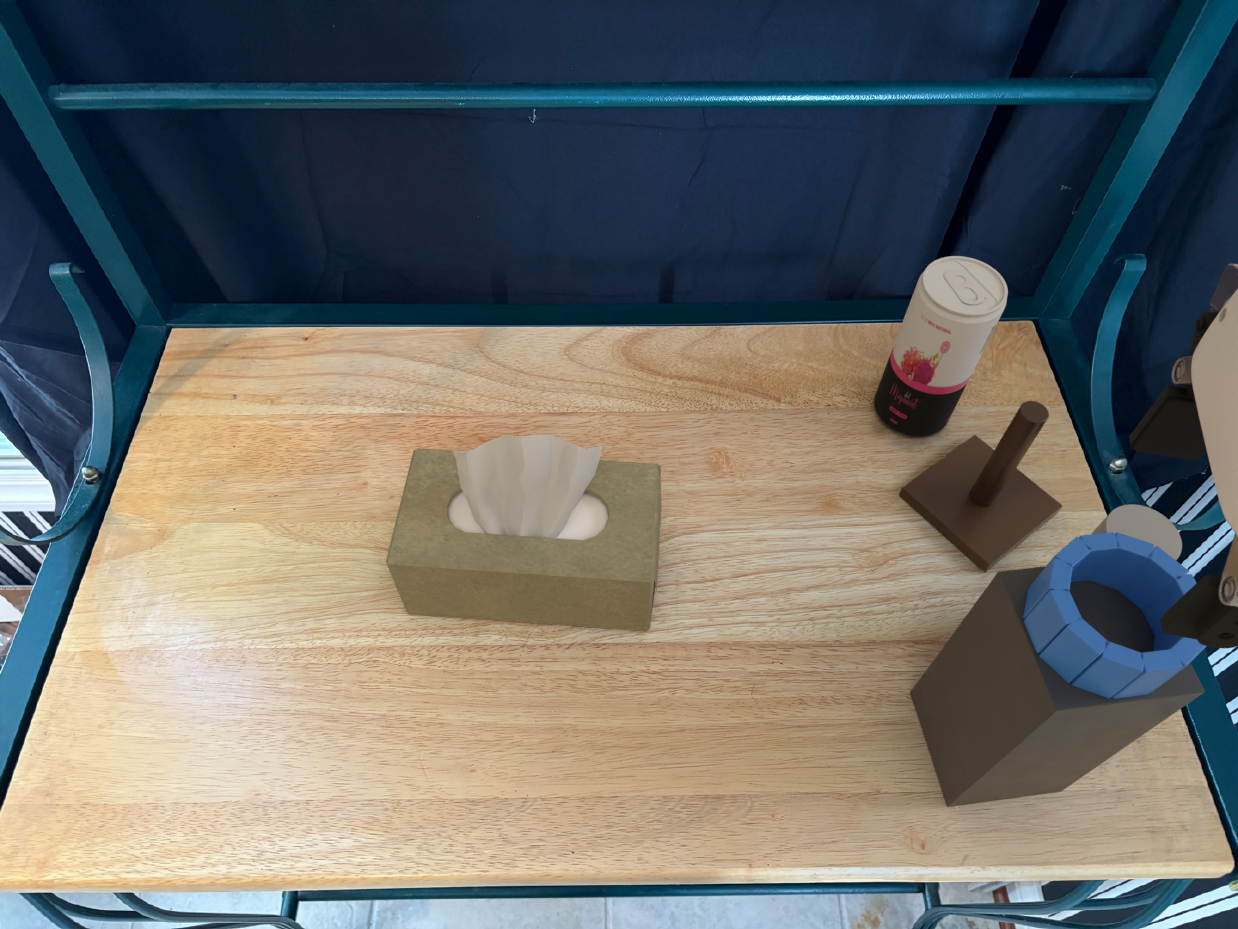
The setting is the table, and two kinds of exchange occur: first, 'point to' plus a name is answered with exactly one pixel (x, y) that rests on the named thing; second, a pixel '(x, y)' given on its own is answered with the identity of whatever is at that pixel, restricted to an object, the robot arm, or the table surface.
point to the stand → (986, 492)
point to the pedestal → (1031, 698)
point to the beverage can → (939, 344)
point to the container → (1143, 527)
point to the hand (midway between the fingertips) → (1178, 535)
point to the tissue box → (528, 535)
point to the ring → (1080, 646)
